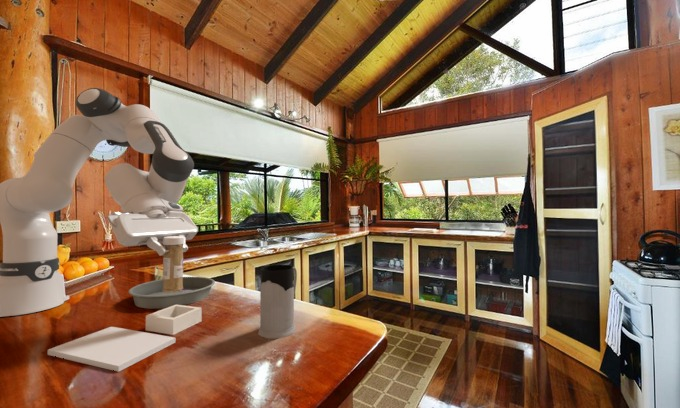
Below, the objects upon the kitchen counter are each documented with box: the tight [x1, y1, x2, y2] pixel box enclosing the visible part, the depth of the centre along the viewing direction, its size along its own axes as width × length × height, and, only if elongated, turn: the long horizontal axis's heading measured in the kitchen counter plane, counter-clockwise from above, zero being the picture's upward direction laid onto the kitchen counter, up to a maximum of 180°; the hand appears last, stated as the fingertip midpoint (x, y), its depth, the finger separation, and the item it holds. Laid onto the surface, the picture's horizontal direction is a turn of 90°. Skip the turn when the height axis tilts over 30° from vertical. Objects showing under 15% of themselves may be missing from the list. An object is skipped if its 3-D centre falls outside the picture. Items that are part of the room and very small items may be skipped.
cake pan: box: [128, 276, 216, 310], centre depth 96 cm, size 25×25×4 cm
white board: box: [47, 326, 176, 373], centre depth 60 cm, size 20×12×1 cm, turn 72°
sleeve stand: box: [145, 304, 203, 336], centre depth 72 cm, size 9×9×4 cm
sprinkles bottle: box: [162, 236, 184, 293], centre depth 72 cm, size 5×5×14 cm
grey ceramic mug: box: [258, 264, 298, 340], centre depth 72 cm, size 9×14×15 cm, turn 162°
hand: (175, 252), depth 72 cm, fingers closed on sprinkles bottle, 4 cm apart
